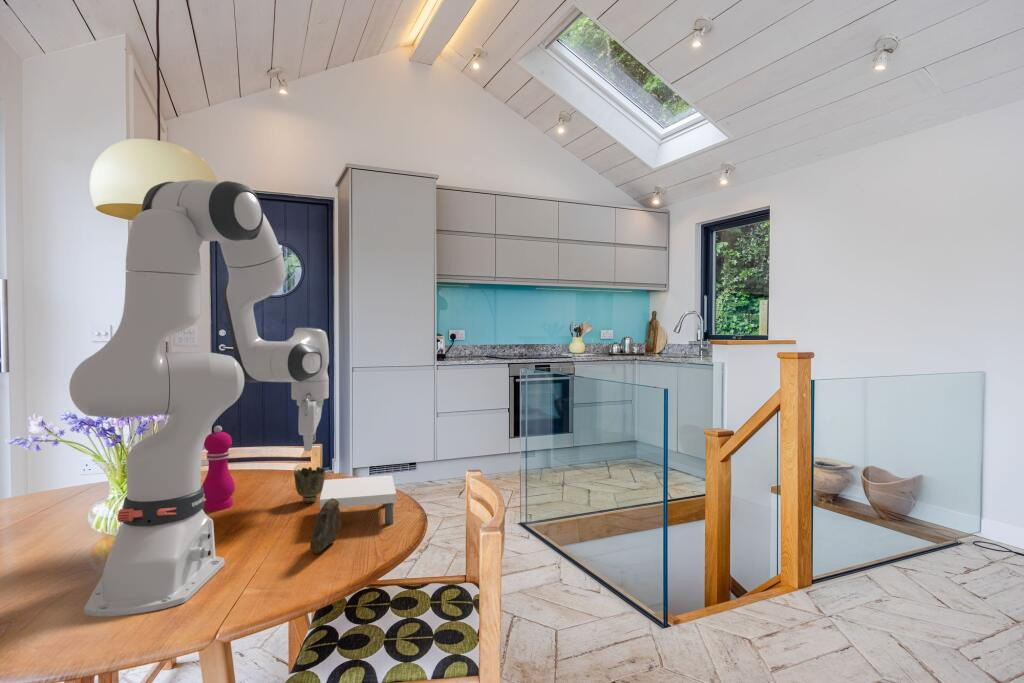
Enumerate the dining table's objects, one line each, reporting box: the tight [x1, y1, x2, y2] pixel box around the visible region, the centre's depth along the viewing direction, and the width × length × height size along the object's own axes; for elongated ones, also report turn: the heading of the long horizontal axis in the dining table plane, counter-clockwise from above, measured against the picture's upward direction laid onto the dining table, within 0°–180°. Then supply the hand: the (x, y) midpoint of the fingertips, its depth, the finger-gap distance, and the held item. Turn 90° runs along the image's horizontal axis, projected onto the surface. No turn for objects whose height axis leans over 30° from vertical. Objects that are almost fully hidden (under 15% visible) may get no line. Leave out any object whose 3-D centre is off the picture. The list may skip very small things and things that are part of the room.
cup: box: [293, 466, 326, 504], centre depth 136 cm, size 8×7×8 cm
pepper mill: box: [201, 425, 236, 512], centre depth 131 cm, size 7×7×20 cm
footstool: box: [319, 474, 397, 526], centre depth 125 cm, size 16×16×7 cm
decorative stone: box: [309, 498, 342, 554], centre depth 105 cm, size 10×9×4 cm
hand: (310, 445), depth 136 cm, fingers open, 8 cm apart
